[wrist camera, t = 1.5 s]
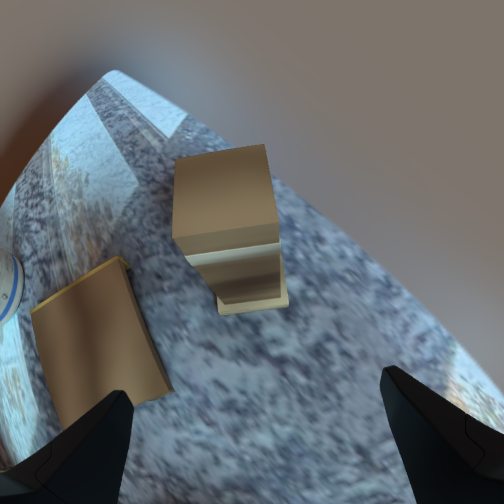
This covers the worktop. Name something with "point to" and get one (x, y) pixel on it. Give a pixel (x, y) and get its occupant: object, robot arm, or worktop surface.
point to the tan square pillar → (231, 227)
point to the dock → (96, 343)
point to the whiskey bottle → (5, 469)
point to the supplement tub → (9, 285)
